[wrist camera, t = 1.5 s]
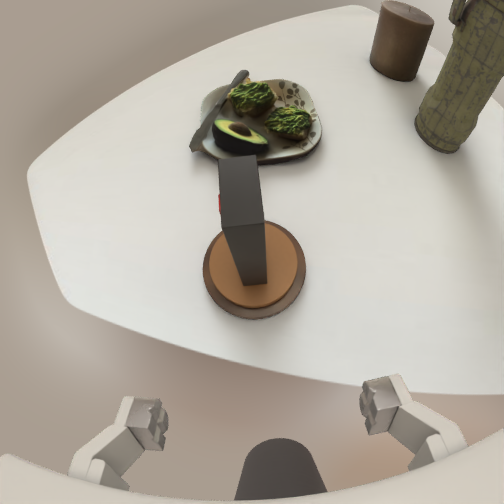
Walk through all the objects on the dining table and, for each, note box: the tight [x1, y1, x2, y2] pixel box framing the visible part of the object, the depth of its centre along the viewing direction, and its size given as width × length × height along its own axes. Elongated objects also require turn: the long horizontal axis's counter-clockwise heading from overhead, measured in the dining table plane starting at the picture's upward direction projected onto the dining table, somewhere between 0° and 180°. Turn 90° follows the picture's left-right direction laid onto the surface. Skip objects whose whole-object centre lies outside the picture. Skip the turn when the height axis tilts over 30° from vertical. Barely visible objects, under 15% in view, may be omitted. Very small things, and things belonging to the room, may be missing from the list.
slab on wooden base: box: [209, 155, 298, 308], centre depth 25 cm, size 9×9×15 cm
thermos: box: [415, 0, 504, 154], centre depth 22 cm, size 9×12×35 cm
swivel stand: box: [203, 220, 306, 319], centre depth 32 cm, size 11×11×1 cm
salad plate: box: [189, 70, 322, 165], centre depth 38 cm, size 19×18×5 cm
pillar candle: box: [370, 0, 434, 81], centre depth 38 cm, size 10×10×15 cm
